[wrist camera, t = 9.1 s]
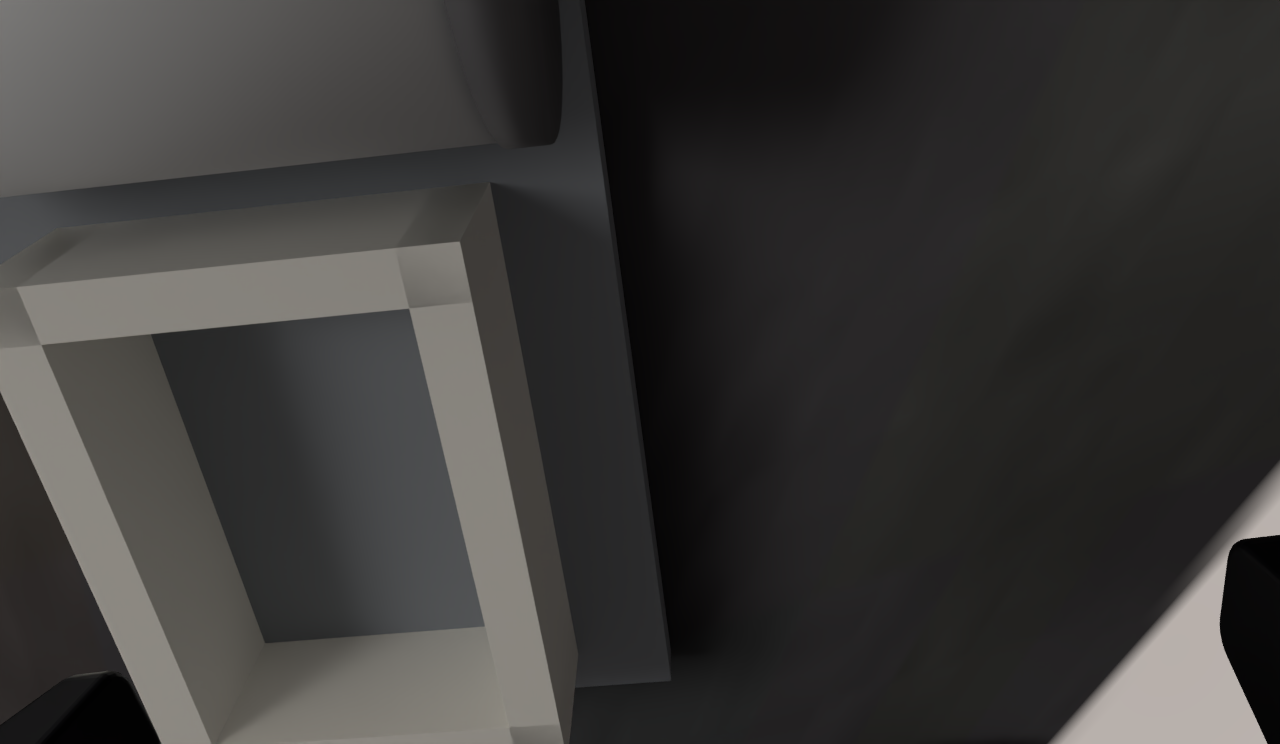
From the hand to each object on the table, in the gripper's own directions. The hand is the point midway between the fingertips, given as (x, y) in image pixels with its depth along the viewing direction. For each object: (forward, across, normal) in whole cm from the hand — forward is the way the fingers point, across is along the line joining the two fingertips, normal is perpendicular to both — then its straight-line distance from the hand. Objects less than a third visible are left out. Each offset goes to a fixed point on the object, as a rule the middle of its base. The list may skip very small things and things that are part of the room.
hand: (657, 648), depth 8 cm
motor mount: (+12, +7, +1) cm, 14 cm away
